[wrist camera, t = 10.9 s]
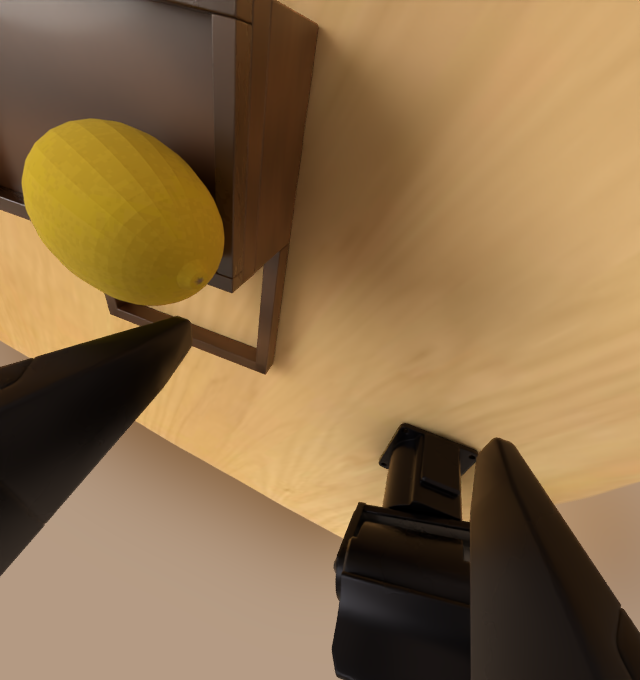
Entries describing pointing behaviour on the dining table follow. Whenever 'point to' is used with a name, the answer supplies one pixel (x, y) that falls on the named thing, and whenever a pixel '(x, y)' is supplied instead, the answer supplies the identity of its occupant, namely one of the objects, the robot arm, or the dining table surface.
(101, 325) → the dining table surface
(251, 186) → the step shelf
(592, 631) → the robot arm
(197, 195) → the lemon
